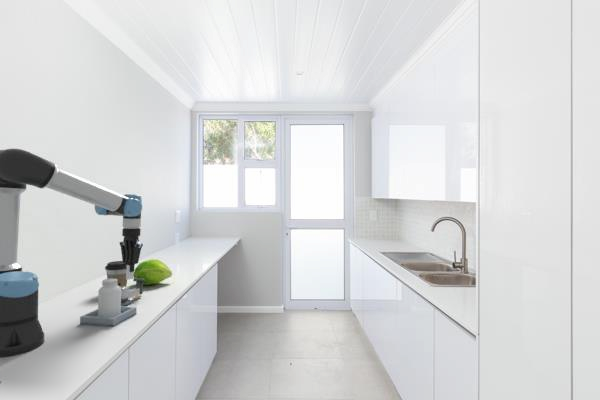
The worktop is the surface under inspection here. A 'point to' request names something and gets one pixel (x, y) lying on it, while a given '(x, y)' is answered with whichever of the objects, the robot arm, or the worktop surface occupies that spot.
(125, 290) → the crank
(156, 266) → the lettuce
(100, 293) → the pill bottle
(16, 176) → the robot arm
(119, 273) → the coffee cup
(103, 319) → the tray
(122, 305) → the crank base
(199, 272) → the worktop surface
